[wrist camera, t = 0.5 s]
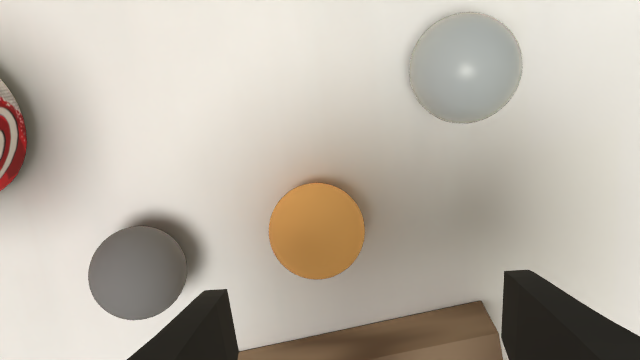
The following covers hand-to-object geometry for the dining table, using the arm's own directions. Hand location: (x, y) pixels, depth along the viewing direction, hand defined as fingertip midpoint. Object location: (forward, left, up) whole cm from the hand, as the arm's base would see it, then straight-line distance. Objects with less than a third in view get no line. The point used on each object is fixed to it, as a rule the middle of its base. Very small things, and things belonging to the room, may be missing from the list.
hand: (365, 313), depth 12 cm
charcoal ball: (-10, -1, -8) cm, 12 cm away
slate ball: (+5, +4, -8) cm, 10 cm away
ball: (-2, -1, -8) cm, 8 cm away
